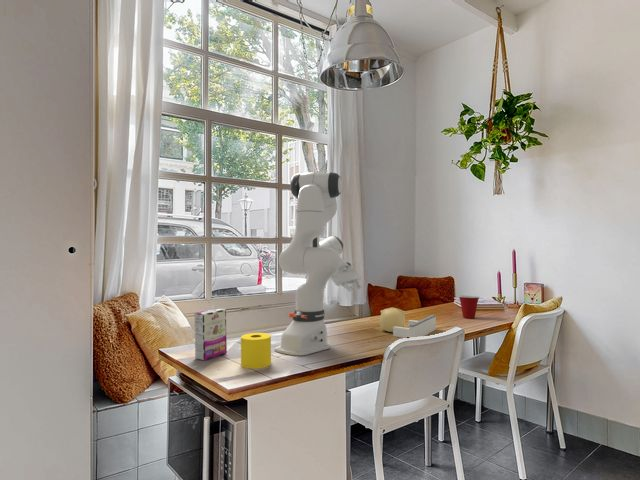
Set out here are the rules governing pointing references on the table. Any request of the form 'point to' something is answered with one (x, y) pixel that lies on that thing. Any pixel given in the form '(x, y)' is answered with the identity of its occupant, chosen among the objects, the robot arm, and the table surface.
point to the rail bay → (416, 328)
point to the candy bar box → (210, 334)
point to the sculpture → (392, 319)
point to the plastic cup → (468, 306)
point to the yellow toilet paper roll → (255, 350)
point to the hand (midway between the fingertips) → (355, 289)
